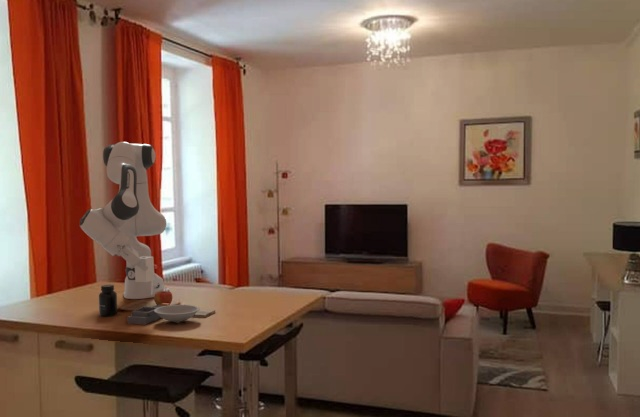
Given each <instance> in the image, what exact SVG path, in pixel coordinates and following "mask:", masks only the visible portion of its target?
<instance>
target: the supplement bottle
mask: <svg viewBox="0 0 640 417" xmlns="http://www.w3.org/2000/svg"><path fill="white" fill-rule="evenodd" d="M100 289H101V290H100V293H98V309H99V316H100V317H101V318H102V317H103V318H108V317H114V316H117V314H118V295H117V294H118V293H117V292H116V291H114V290H115V285H114V284H101V286H100Z"/></svg>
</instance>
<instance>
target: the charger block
mask: <svg viewBox="0 0 640 417" xmlns="http://www.w3.org/2000/svg"><path fill="white" fill-rule="evenodd" d="M140 259H141V262H142V263H143V264H145V265H146V266H147V267H148V269H147V270H146V271H144V270H143V269H141V268H140V267H138V266H137V265H136V266H135V282H149V281H152V280H154V273H155V269H154V265H155V263H154V262H155V261H154V256H151V257H147V256H142V257H140Z"/></svg>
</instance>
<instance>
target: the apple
mask: <svg viewBox="0 0 640 417" xmlns="http://www.w3.org/2000/svg"><path fill="white" fill-rule="evenodd" d="M164 288H165V291H160V292H157V293H156V294H155V296H154V297H153V298H154V300H153V301H154V302H155V306H156V305H158V304H159V305H161V304H162V303H170V305H172V301H173V293H172V292H171V291H166V288H167V287H164Z"/></svg>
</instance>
